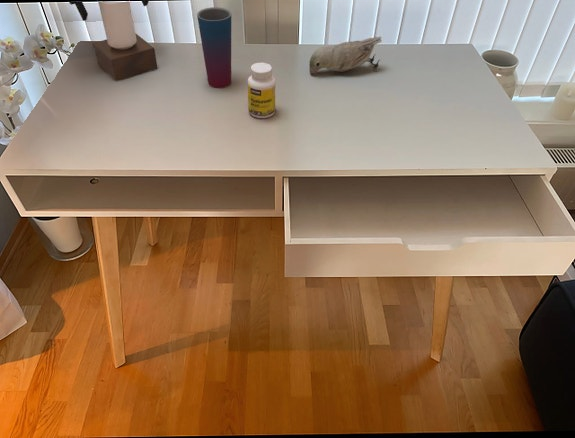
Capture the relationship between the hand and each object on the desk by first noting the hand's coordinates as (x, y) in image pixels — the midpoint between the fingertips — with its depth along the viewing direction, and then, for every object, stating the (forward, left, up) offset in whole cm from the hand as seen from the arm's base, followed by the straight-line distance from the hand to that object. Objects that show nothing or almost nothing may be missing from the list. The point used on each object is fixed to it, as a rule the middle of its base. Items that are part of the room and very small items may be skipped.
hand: (117, 10), depth 107 cm
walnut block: (0, +1, -13) cm, 13 cm away
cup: (+16, -15, -13) cm, 26 cm away
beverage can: (0, +1, -8) cm, 8 cm away
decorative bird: (+43, -23, -13) cm, 51 cm away
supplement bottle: (+19, -30, -13) cm, 38 cm away
